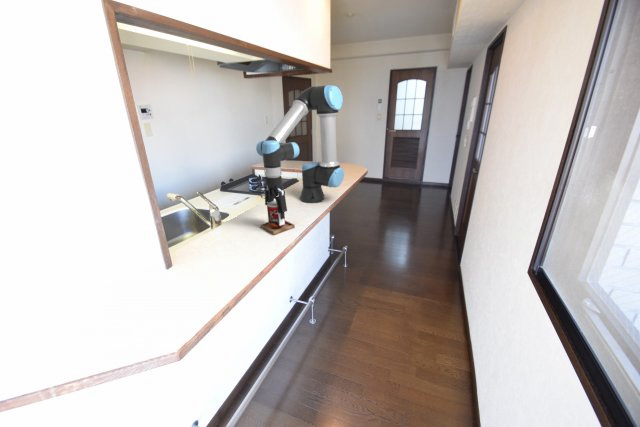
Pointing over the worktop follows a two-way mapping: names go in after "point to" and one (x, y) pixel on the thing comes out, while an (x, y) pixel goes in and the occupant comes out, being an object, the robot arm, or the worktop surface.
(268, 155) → the robot arm
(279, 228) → the coaster board
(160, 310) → the worktop surface
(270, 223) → the canned food
